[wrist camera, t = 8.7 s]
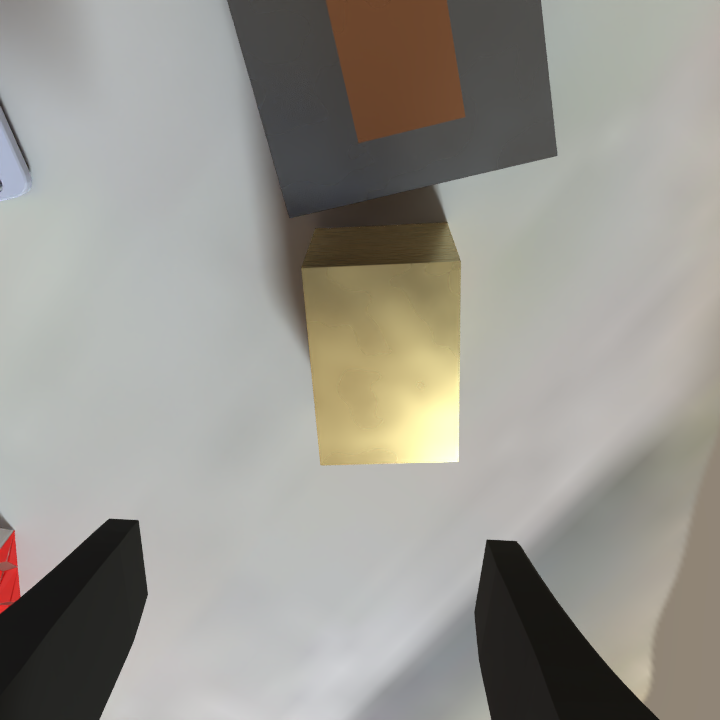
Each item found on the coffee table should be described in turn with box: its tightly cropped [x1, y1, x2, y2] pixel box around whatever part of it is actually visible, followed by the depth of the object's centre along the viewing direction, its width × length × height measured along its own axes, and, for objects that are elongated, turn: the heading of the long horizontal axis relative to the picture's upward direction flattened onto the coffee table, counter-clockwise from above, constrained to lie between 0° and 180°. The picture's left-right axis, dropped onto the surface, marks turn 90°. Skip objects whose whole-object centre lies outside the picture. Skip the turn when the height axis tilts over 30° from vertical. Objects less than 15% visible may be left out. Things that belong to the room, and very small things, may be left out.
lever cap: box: [301, 222, 461, 465], centre depth 20 cm, size 4×6×4 cm, turn 3°
